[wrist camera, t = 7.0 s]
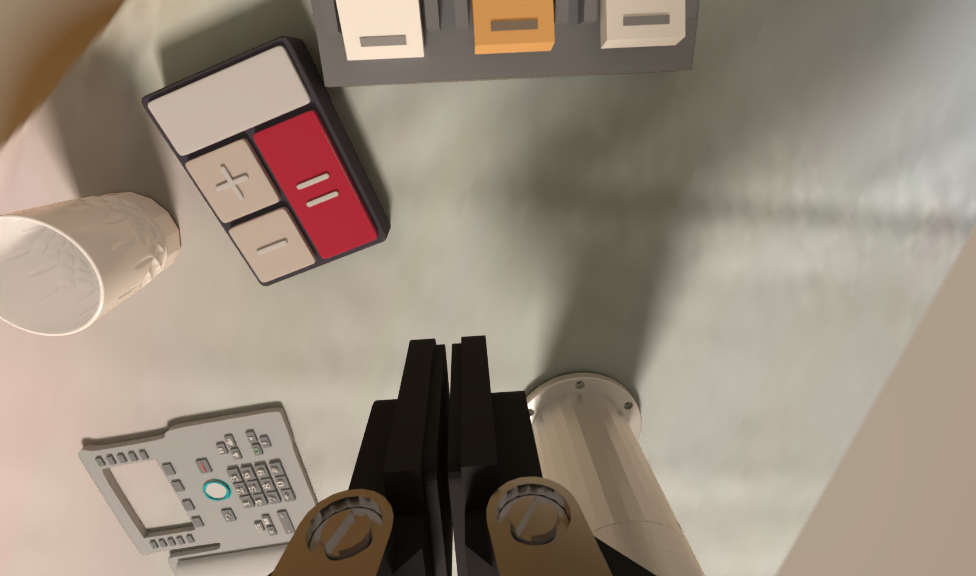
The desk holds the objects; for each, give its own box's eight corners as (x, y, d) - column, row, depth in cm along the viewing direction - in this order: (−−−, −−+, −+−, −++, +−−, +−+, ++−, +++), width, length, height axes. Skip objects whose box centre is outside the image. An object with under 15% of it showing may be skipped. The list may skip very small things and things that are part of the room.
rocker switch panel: (688, -77, 32) (724, -103, 27) (673, 71, 35) (704, 68, 31) (312, -62, 31) (288, -88, 27) (336, 87, 34) (317, 86, 30)
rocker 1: (413, -62, 27) (411, -62, 26) (425, 52, 31) (423, 57, 30) (329, -59, 27) (324, -58, 26) (351, 55, 31) (347, 60, 30)
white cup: (196, 205, 37) (109, 242, 28) (181, 291, 40) (97, 351, 31) (88, 168, 36) (-42, 195, 27) (80, 260, 38) (-41, 313, 29)
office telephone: (342, 587, 52) (164, 614, 52) (347, 564, 55) (176, 591, 55) (274, 420, 43) (57, 454, 43) (284, 402, 45) (78, 434, 45)
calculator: (258, 292, 37) (130, 99, 30) (277, 271, 41) (166, 95, 34) (387, 243, 36) (282, 32, 29) (393, 225, 40) (302, 36, 33)
